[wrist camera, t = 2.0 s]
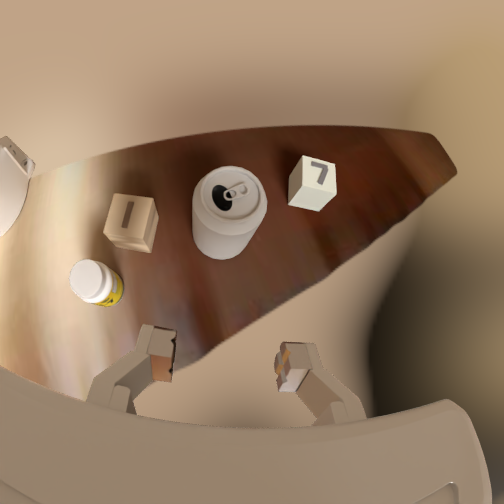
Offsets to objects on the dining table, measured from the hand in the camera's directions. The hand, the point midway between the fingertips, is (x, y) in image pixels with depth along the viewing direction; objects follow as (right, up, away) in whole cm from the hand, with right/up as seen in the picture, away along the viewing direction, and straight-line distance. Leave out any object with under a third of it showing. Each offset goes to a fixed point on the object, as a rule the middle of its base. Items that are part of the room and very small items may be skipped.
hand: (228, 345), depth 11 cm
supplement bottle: (-17, -1, +20) cm, 27 cm away
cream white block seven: (+9, +13, +29) cm, 33 cm away
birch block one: (-14, +7, +23) cm, 28 cm away
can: (-3, +6, +25) cm, 26 cm away
